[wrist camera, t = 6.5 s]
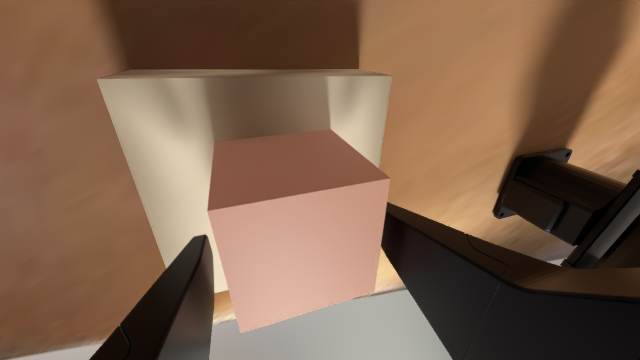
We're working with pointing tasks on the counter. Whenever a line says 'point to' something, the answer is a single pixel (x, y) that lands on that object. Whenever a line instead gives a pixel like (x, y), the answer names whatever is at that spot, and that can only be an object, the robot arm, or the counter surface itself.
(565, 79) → the counter surface
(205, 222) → the birch block
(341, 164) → the cube
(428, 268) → the robot arm
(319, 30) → the counter surface
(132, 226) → the counter surface
